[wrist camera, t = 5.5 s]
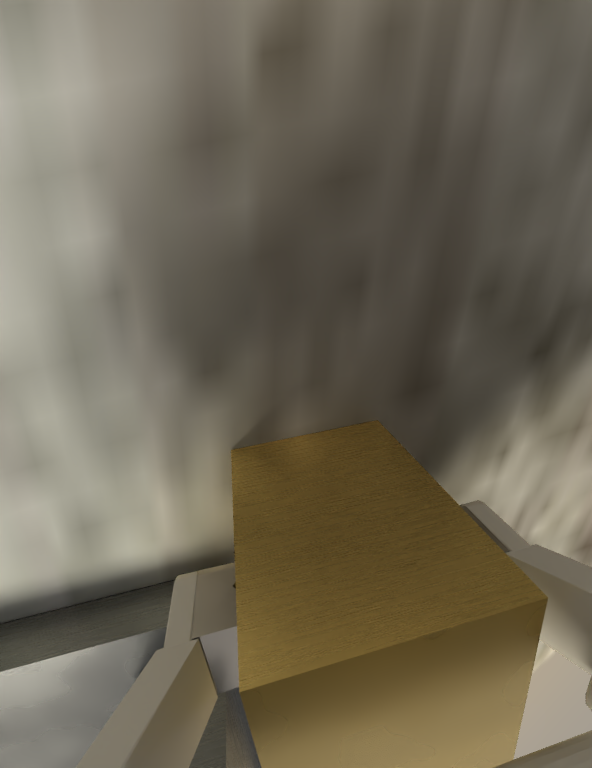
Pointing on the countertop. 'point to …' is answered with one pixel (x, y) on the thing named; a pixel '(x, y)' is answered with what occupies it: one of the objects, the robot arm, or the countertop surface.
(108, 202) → the countertop surface
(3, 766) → the vise
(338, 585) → the block
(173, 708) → the robot arm
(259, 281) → the countertop surface
